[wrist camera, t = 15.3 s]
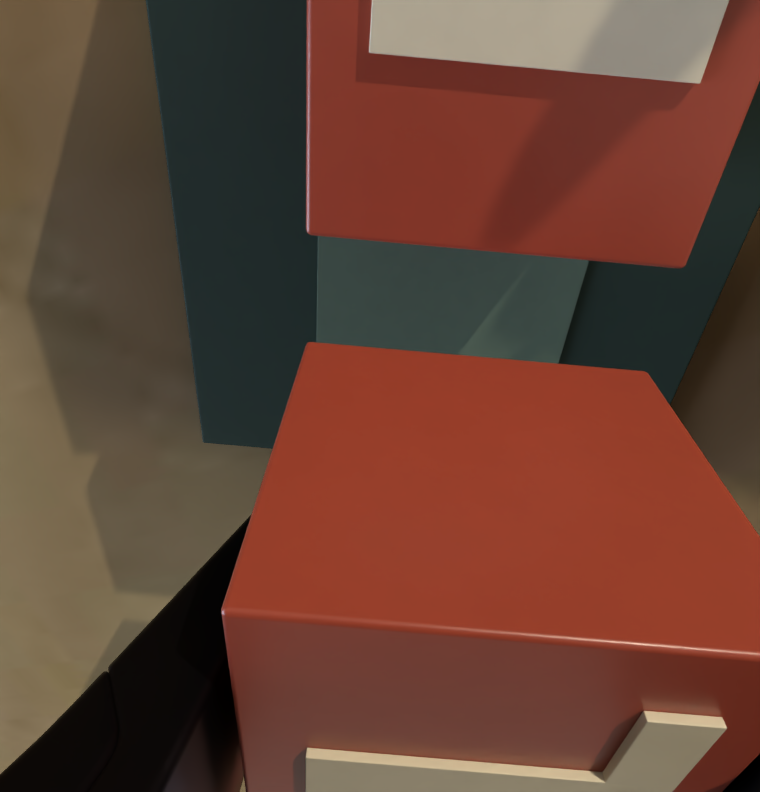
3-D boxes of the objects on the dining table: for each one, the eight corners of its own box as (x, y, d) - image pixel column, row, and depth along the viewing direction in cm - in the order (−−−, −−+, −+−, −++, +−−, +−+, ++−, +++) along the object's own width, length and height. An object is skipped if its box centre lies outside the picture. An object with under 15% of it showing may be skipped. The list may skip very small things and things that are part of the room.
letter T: (559, 587, 11) (641, 891, 7) (305, 565, 11) (249, 858, 7) (647, 369, 8) (862, 678, 4) (306, 339, 8) (214, 623, 4)
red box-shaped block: (591, 187, 11) (689, 273, 7) (339, 163, 11) (303, 238, 7) (690, -164, 8) (933, -325, 4) (352, -196, 8) (304, -389, 4)
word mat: (631, 471, 16) (637, 483, 15) (206, 434, 16) (201, 445, 15) (1448, -1384, 4) (1555, -1531, 4) (-39, -1558, 4) (-85, -1721, 4)
